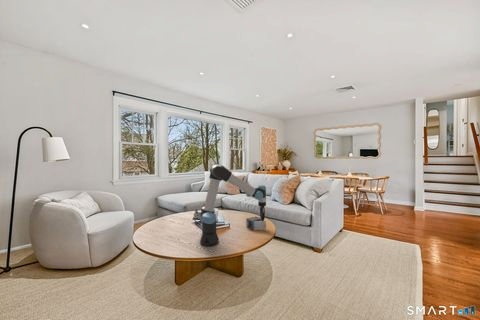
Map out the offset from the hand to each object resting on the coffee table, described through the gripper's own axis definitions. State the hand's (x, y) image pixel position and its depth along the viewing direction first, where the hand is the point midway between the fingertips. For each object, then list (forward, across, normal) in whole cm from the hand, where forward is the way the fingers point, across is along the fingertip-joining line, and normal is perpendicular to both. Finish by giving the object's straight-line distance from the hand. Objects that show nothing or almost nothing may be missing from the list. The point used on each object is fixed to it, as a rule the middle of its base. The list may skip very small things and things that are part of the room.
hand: (262, 225), depth 201 cm
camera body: (+3, +4, +8) cm, 10 cm away
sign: (+3, +30, +58) cm, 65 cm away
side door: (+3, -3, +4) cm, 6 cm away
